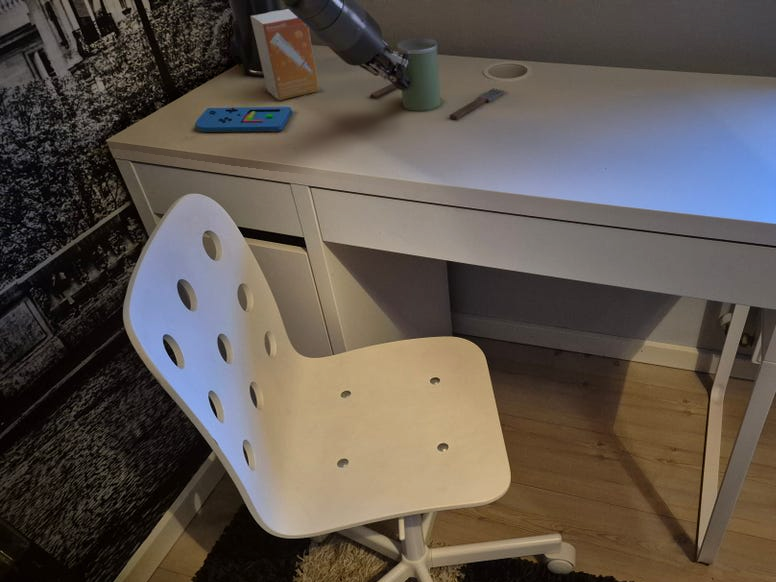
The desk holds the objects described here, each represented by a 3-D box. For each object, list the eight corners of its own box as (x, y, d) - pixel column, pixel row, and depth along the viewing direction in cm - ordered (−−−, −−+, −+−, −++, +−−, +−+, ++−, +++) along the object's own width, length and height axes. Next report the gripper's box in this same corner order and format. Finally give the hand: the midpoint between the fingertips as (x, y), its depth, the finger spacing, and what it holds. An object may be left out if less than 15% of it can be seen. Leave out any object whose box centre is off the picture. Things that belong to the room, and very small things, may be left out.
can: (404, 112, 115) (398, 51, 108) (401, 98, 120) (395, 39, 113) (442, 109, 116) (439, 48, 109) (438, 95, 121) (435, 36, 114)
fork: (459, 120, 112) (458, 117, 112) (447, 117, 113) (447, 114, 113) (504, 93, 120) (504, 90, 120) (493, 90, 121) (493, 87, 121)
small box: (279, 101, 120) (261, 23, 111) (267, 91, 124) (249, 15, 115) (321, 91, 123) (307, 15, 114) (307, 81, 127) (293, 6, 118)
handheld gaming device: (206, 106, 116) (291, 104, 116) (208, 112, 117) (293, 111, 116) (190, 125, 110) (279, 124, 109) (192, 132, 111) (281, 131, 110)
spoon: (380, 100, 119) (379, 96, 119) (366, 96, 121) (366, 93, 120) (427, 75, 128) (427, 72, 127) (414, 72, 129) (414, 69, 129)
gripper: (387, 7, 94) (445, 71, 109) (321, -5, 100) (384, 57, 115) (367, 57, 94) (428, 114, 110) (302, 42, 100) (368, 98, 116)
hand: (405, 85), depth 112 cm, fingers closed
